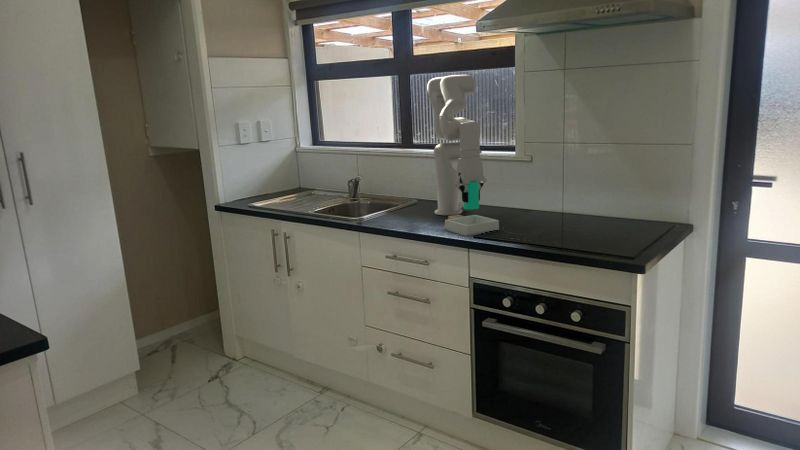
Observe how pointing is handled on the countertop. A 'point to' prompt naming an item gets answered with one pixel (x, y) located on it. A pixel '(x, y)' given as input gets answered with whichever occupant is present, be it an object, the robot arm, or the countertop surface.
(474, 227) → the bin
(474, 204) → the candle
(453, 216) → the oak block
